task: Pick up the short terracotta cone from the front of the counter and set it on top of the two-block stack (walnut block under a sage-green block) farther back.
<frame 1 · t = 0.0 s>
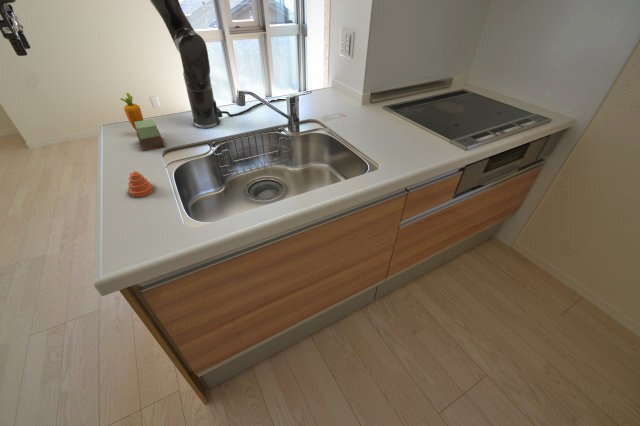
hand: (24, 51, 82), 29 cm above the worktop, tool pointing down, fingers open, 8 cm apart
base block: (152, 144, 105), on the worktop, touching top block
cone: (141, 191, 85), on the worktop
carrot: (141, 135, 111), on the worktop
top block: (148, 134, 103), point 4 cm above the worktop, touching base block
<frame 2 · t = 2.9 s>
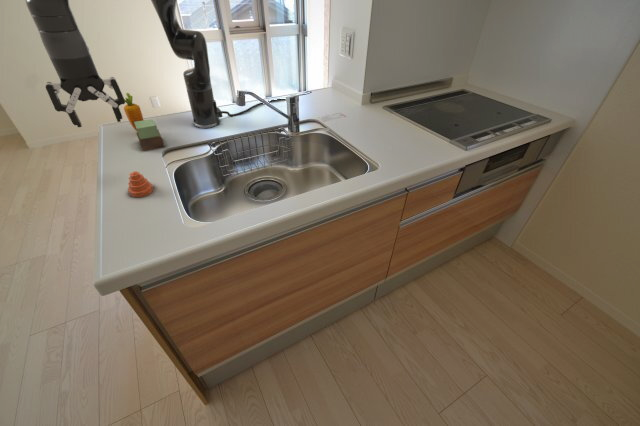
hand: (100, 123, 75), 19 cm above the worktop, tool pointing down, fingers open, 8 cm apart
nothing on the worktop moved.
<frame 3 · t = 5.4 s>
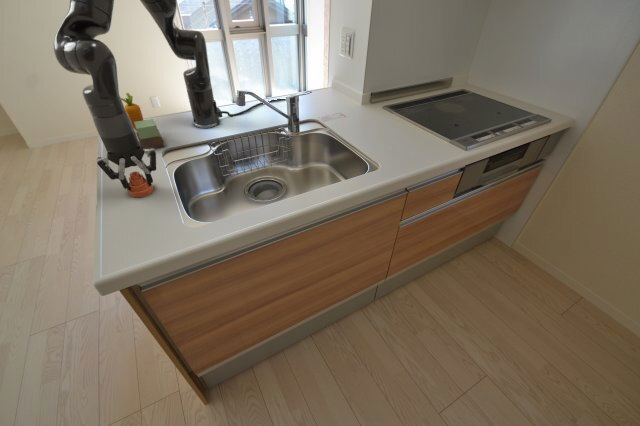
hand: (139, 185, 83), 2 cm above the worktop, tool pointing down, fingers closed on cone, 4 cm apart
cone: (141, 191, 85), on the worktop, touching gripper
everything else where it was.
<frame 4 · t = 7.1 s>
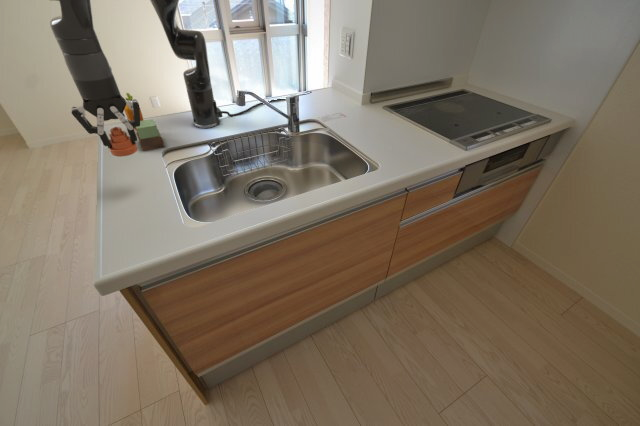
hand: (122, 144, 75), 15 cm above the worktop, tool pointing down, fingers closed on cone, 4 cm apart
cone: (124, 150, 76), point 13 cm above the worktop, touching gripper
everything else where it was.
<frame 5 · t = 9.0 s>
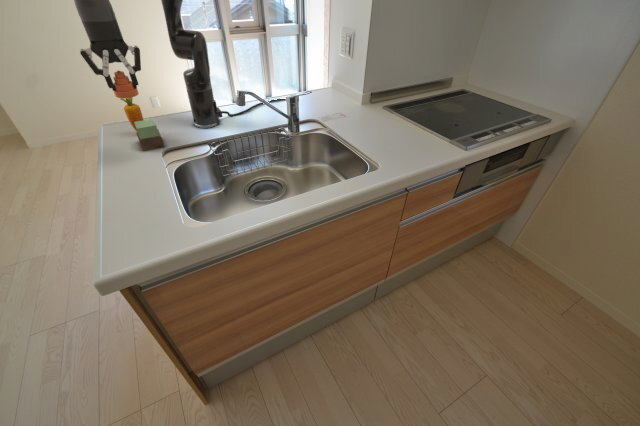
hand: (124, 87, 84), 23 cm above the worktop, tool pointing down, fingers closed on cone, 4 cm apart
cone: (127, 94, 85), point 21 cm above the worktop, touching gripper
everything else where it was.
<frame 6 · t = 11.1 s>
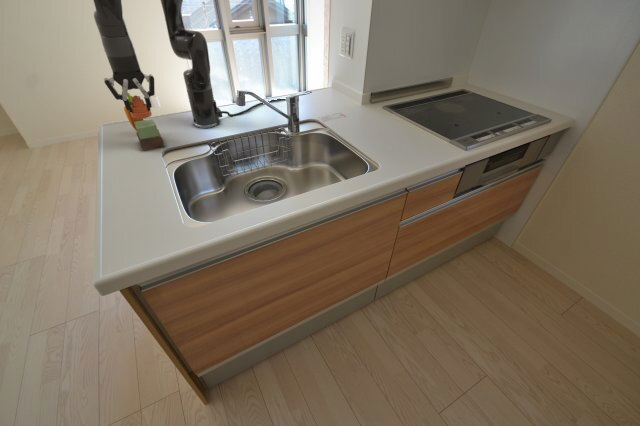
hand: (140, 109, 97), 13 cm above the worktop, tool pointing down, fingers closed on cone, 4 cm apart
cone: (141, 115, 98), point 11 cm above the worktop, touching gripper
everything else where it was.
when the fingers open (10 cm above the worktop, at t = 12.5 s): cone stays where it is, resting on top block.
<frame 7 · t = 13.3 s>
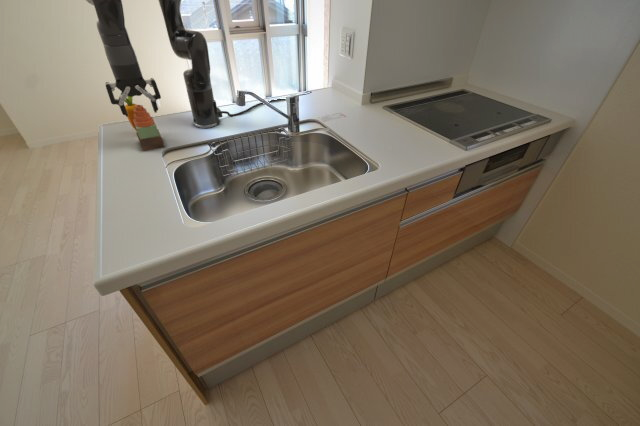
hand: (141, 113, 98), 11 cm above the worktop, tool pointing down, fingers open, 8 cm apart
cone: (144, 123, 100), point 8 cm above the worktop, touching top block
top block: (148, 134, 103), point 4 cm above the worktop, touching base block, cone
everything else where it was.
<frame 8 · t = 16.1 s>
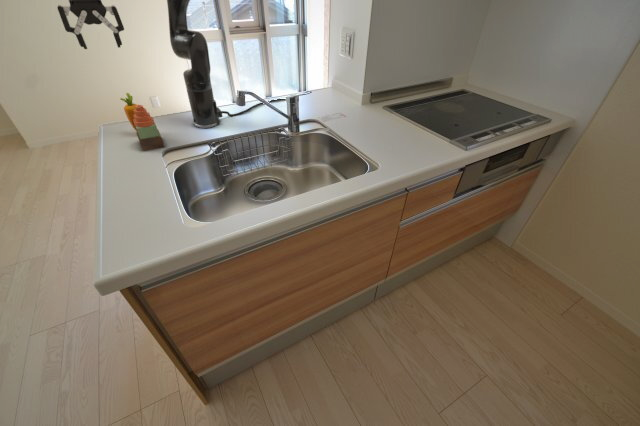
hand: (103, 47, 88), 30 cm above the worktop, tool pointing down, fingers open, 8 cm apart
nothing on the worktop moved.
at the end: cone 0.1 cm off-centre on the top block, point 4.0 cm above the top block's base; cone tilted 0°; top block 0.0 cm from the base block (horizontally) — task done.
